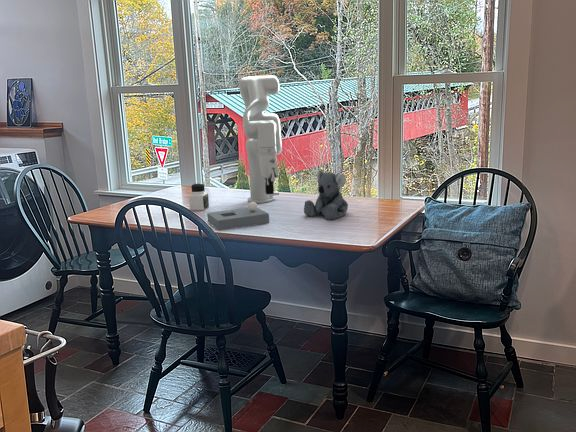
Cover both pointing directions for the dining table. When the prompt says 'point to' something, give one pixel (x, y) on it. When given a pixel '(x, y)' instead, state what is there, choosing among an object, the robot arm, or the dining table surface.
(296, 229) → the dining table surface
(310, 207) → the koala plush
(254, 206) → the ball
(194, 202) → the medicine bottle
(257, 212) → the grey flat block
